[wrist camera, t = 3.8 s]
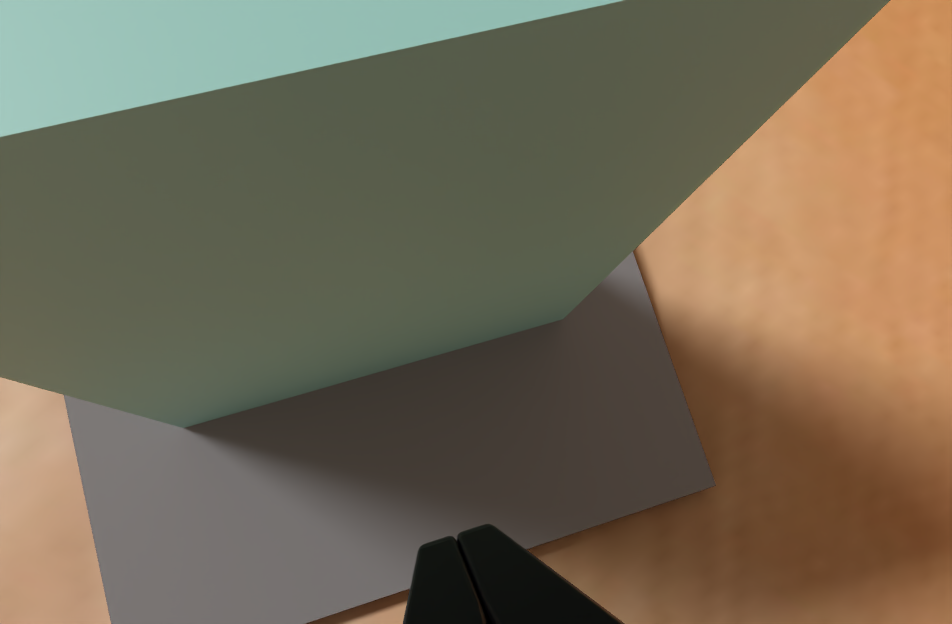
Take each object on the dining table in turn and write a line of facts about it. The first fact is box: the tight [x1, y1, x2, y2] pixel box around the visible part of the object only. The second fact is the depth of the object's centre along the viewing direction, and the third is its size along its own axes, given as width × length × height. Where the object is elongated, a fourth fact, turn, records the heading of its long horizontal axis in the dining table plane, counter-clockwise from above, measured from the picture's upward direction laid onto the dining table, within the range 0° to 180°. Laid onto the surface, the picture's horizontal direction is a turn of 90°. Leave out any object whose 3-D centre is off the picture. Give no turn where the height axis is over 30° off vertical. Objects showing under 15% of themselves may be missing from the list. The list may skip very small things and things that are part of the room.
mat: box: [64, 252, 716, 624], centre depth 17 cm, size 18×12×1 cm, turn 17°
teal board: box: [0, 0, 890, 428], centre depth 10 cm, size 2×8×12 cm, turn 107°
